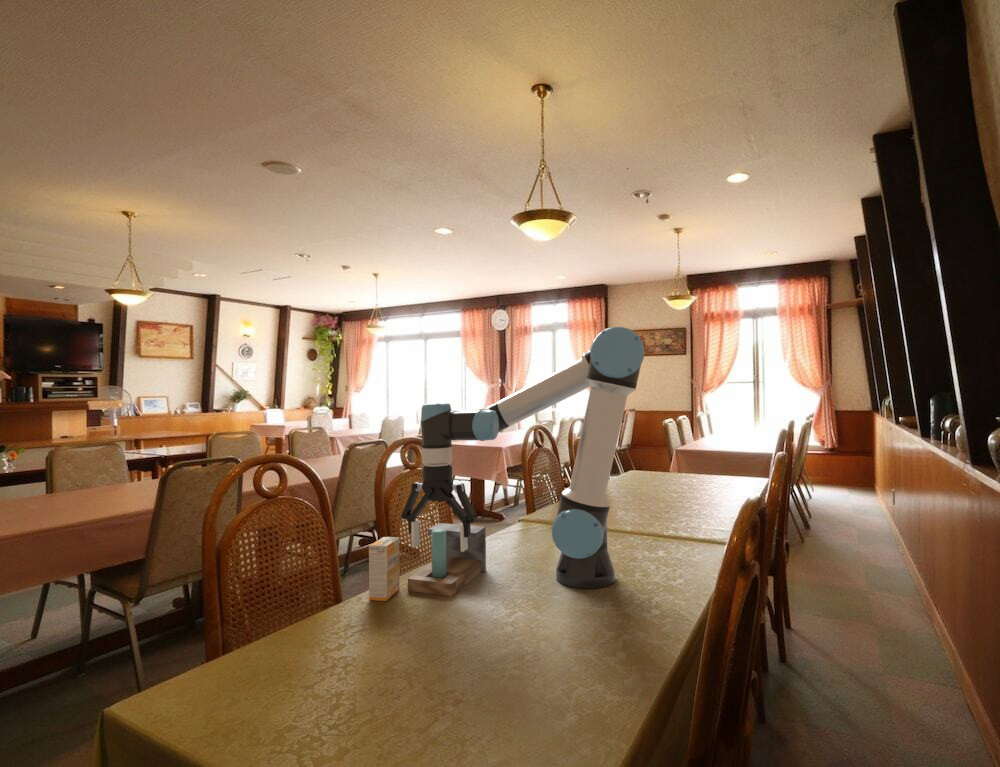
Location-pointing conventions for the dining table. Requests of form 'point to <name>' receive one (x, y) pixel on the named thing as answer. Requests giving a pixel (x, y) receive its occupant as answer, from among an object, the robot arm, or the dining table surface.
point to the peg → (439, 553)
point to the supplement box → (383, 568)
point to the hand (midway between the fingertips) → (439, 548)
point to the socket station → (453, 562)
